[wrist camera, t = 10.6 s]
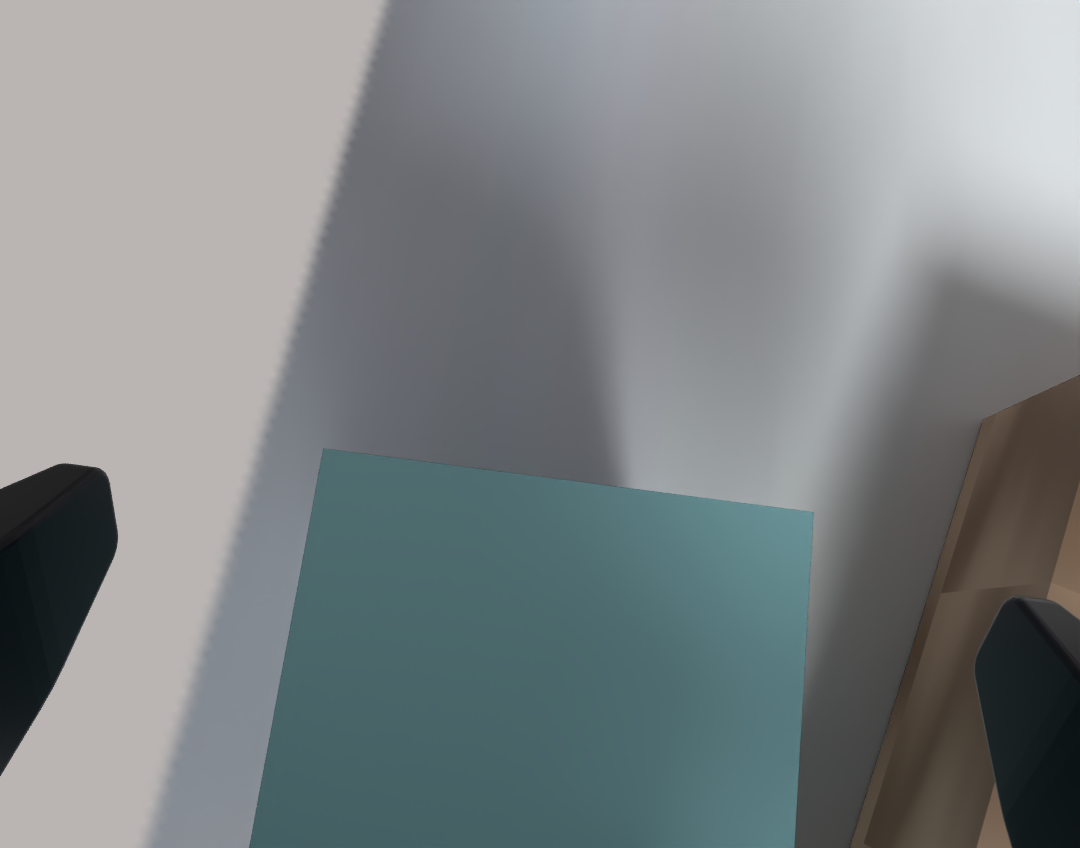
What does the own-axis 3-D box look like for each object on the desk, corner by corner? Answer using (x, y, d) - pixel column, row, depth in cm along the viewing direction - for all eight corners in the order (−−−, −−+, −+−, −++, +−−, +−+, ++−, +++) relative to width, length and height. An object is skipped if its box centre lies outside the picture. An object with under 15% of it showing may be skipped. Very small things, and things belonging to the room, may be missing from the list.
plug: (618, 809, 16) (781, 1069, 6) (395, 780, 16) (220, 996, 6) (641, 583, 17) (813, 511, 7) (429, 555, 17) (322, 447, 7)
